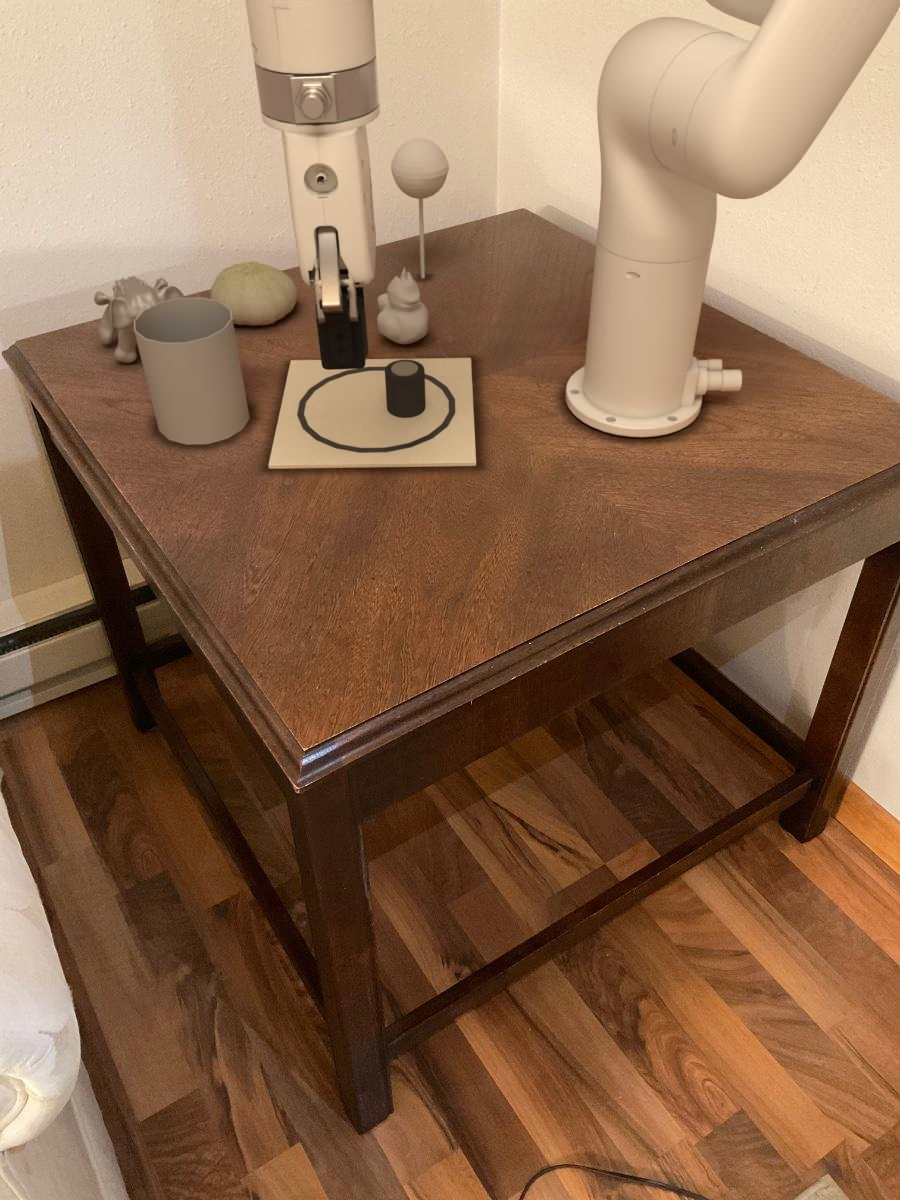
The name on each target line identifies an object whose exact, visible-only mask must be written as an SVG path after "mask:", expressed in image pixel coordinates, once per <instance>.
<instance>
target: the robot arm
mask: <svg viewBox="0 0 900 1200" xmlns="http://www.w3.org/2000/svg"><path fill="white" fill-rule="evenodd" d="M244 1H245V7H246V16H247V21H248V22H247V23H248V28H249V36H250V43H251V50H252V57H253V61H254V62H253V63H254V64H253V65H254V71H255V77H256V85H257V91H258V98H259V105H260V113H261V119H262V122H263V123H264V124H265V125H266V126H268V127H270V128H272V129H274V130H277V131H281V138H282V146H283V156H284V164H285V166H284V167H285V173H286V180H287V181H286V182H287V191H288V197H289V206H290V212H291V220H292V227H293V234H294V241H295V247H296V253H297V260H298V266H299V270H300V271H299V272H300V276H301V280H302V281H303V282H304V283H305V284H306V285H307V286H309V287H312V286H314V291H315V301H316V302H315V304H316V303H317V313H318V317H316V329H317V330H316V331H317V336H318V344H319V352H320V353H319V354H320V360H321V363H322V367H323V368H324V369H326V370H336V369H361V368H364V367H365V361H366V360H365V359H366V358H365V348H364V337H363V325H362V315H358V312H357V299H356V295H357V296H359V297H361V298H362V299H363V300H364V301H365V291H364V287H363V286H361V283H363V284H364V285H369V284H370V283H371V282H372V281H373V280H374V278H375V273H376V253H377V252H376V251H377V231H376V221H375V211H374V199H373V185H372V172H371V159H370V149H369V141H368V140H369V139H368V131H367V126H366V125H368V124H370V123H372V122H373V121H374V120H376V119H377V118H378V117H379V116H380V114H381V108H380V107H381V106H380V96H379V95H380V93H379V78H378V64H377V42H376V29H375V28H376V27H375V14H374V13H375V12H374V10H375V9H374V0H244ZM705 1H706V2H707V3H708V4H709V5H710V6H711V7H713V8H715V9H716V10H718V11H720V12H721V13H723V14H726V15H727V16H729V17H732V18H735V19H738V20H740V21H743V22H746V23H749V24H752V25H755V26H758V27H759V28H758V29H757V31H756V33H755V34H754V36H753V38H752V40H749V39H748V40H747V39H745V38H742V37H739V36H737V35H735V34H734V33H730V32H728V31H725V30H722V29H719V28H716V27H714V26H711V25H709V24H705V23H702V22H699V21H696V20H693V19H689V18H684V17H677V16H660V17H654V18H651V19H646V20H644V21H642V22H640V23H638V24H636V25H635V26H633V27H631V28H630V29H629V30H628V31H626V32H625V33H624V34H623V35H622V36H621V37H620V38H619V40H618V41H616V43H615V44H614V46H613V47H612V49H611V50H610V52H609V54H608V55H607V57H606V60H605V62H604V65H603V67H602V69H601V70H602V71H601V74H600V78H599V83H598V90H597V97H596V99H597V100H596V101H597V102H596V115H597V131H598V141H599V153H600V198H599V199H600V200H599V201H600V202H599V213H598V224H597V234H596V243H595V253H594V254H595V255H594V264H593V276H592V286H591V295H590V306H589V317H588V318H589V319H588V327H587V328H588V329H587V337H586V338H587V339H586V340H587V341H586V349H585V359H584V360H585V361H584V366H582V367H580V368H578V370H576V371H575V372H574V373H572V375H571V376H570V377H569V379H568V381H567V382H566V387H565V394H564V395H565V403H566V406H567V407H568V409H569V411H570V412H571V413H572V415H574V416H575V417H576V418H577V419H578V420H580V421H581V422H582V423H584V424H586V425H587V426H589V427H590V428H591V427H592V428H593V429H595V430H599V431H600V432H603V433H608V434H611V435H615V436H621V437H629V438H651V437H652V438H654V437H660V436H666V435H669V434H672V433H676V432H678V431H680V430H682V429H684V428H687V427H688V426H689V425H691V424H692V423H693V422H694V421H695V420H696V419H697V417H698V416H699V414H700V411H701V407H702V404H703V396H704V395H706V393H707V391H708V392H709V391H711V392H712V391H719V392H740V391H741V389H742V385H743V373H742V370H741V369H723V360H722V359H721V358H709V359H698V358H697V357H696V356H694V351H695V345H696V338H697V334H698V333H697V332H698V328H699V321H700V315H701V309H702V305H703V300H704V299H703V298H704V294H705V288H706V282H707V277H708V271H709V266H710V265H709V264H710V259H711V254H712V248H713V244H714V239H715V232H716V226H717V217H718V216H717V215H718V195H719V196H722V197H725V198H728V199H732V200H749V199H753V198H756V197H760V196H762V195H764V194H766V193H768V192H769V191H771V190H773V189H774V188H775V187H777V186H778V185H779V184H780V183H782V182H783V181H784V180H785V179H786V178H787V177H788V176H789V175H790V174H791V173H792V172H793V170H794V169H795V168H796V167H797V165H798V164H800V162H801V160H802V159H803V158H804V157H805V155H806V153H807V152H808V151H809V150H810V148H811V147H812V145H813V144H814V142H815V141H816V139H817V138H818V136H819V135H820V133H821V132H822V130H823V129H824V127H825V125H826V124H827V123H828V121H829V119H830V118H831V116H832V115H833V113H834V112H835V110H836V108H837V107H838V106H839V104H840V103H841V101H842V99H843V98H844V96H845V95H846V94H847V92H848V90H849V89H850V87H851V85H853V82H854V81H855V80H856V78H857V76H858V75H859V73H860V72H861V71H862V69H863V68H864V65H866V63H867V61H868V60H869V58H870V57H871V55H872V53H873V52H874V51H875V49H876V47H877V46H878V44H879V43H880V41H881V40H882V38H883V37H884V35H885V33H886V32H887V30H888V28H889V26H890V25H891V23H892V22H893V20H894V18H895V16H896V15H897V13H898V11H899V9H900V0H705ZM313 284H314V285H313ZM342 293H348V299H347V296H346V294H345V295H342Z"/></svg>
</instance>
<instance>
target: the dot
mask: <svg viewBox="0 0 900 1200" xmlns="http://www.w3.org/2000/svg"><path fill="white" fill-rule="evenodd" d="M345 294H346V296H347V299H348V293H342V295H345ZM356 299H357V312H358V315H362V325H363V337H364V348H365V359H367V357H368V355H369V351H370V350H369V339H368V329H367V328H368V325H367V316H366V303H365V299H364V300H363V299H362V298H361V297H359V296H357V295H356ZM314 310H315V317H316V318H317V317H318V313H317V303H316V302H315V307H314Z"/></svg>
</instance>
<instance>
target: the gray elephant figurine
mask: <svg viewBox="0 0 900 1200" xmlns="http://www.w3.org/2000/svg"><path fill="white" fill-rule="evenodd" d="M111 289H112V291H113V295H112V296H109V295H107V294H105V293H104V292H102V291H96V292H95V293H94V297H93V301H94V303H95V305H97V306H106V305H107V306H106V308H105V309H104V312H103V315H102V317H101V319H100V323H99V327H98V329H97V330H98V331H97V332H98V337H99V339H100V341H101V342H102V343H103V344H104V345H110V344H112V343H113V341H114V339H115V335H116V331H117V330H119V331H118V334H117V340H118V341H117V342H118V343H117V347H116V348H115V350H114V351H113V357H114V358H115V360H116V361H118V362H120V363H126V364H130V363H133V362H135V361H136V360H137V357H138V355H137V351H136V348H137V346H138V344H137V340H136V336H135V332H134V320H135V319H136V318H137V316H138V315H139V314H140V313H141V312H142V311H143V310H145V309H147V308H149V307H151V306H153V305H155V304H157V303H160V302H164V301H168V300H173V299H177V298H186V297H185V295H184V294H183V291H181V289H179V288H178V287H177V286H175V285H169V283H168V282H167V281H166V279H165V278H163V277H160V278H157V279H156V280H155V285H154V287H152V285H149V284H148V283H147V282H146V281H145V280H144V279H140V278H137V277H136V276H135V275H133V276H128V277H127V279H125V277H122V278H121V279H115V282H114V285H113V286H112V288H111Z"/></svg>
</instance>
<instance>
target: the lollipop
mask: <svg viewBox="0 0 900 1200" xmlns="http://www.w3.org/2000/svg"><path fill="white" fill-rule="evenodd" d="M449 170H450V165H449V161H448V159H447V157H446V154H445V152H444V151H443V150H442V148H441V147H440V146H439V145H438V144H437V143H435V142H434V141H433V140H430V139H427V138H425V137H423V138H422V137H418V138H412V139H410V140H407V141H405V142H404V143H403V144H402V145H400V147H399V148H398V149H397V150H396V152H395V154H394V156H393V159H392V160H391V163H390V171H391V174H392V177H393V180H394V182H395V184H396V186H397V188H398V189H399V190H400V191H401V192H402V193H403V194H405V195H406V196H408V197H410V198H413V199H415V200H416V199H417V200H418V222H419V225H418V226H419V227H418V228H419V259H420V278H421V279H425V278H426V271H425V270H426V263H425V261H426V260H425V228H424V225H425V223H424V222H425V221H424V199H428V198H431V197H433V196H434V195H436V194H437V193H439V192H440V190H441V189H442V188H443V187H444V184H445V183H446V180H447V176H448V174H449Z"/></svg>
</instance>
